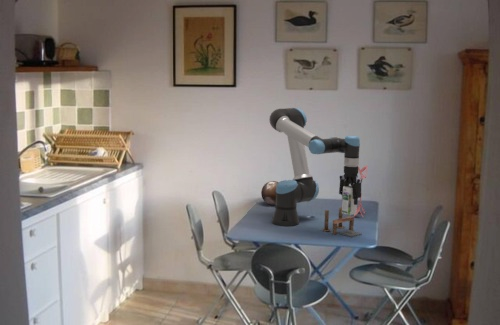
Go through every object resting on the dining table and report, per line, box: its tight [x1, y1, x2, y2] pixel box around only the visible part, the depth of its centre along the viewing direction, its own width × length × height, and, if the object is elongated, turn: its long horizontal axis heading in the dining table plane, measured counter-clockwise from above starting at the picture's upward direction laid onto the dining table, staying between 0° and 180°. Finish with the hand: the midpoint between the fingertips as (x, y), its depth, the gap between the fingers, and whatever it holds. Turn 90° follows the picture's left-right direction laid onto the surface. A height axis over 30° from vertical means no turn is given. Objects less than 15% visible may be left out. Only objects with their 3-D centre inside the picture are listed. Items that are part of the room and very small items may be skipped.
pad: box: [339, 229, 362, 238], centre depth 313 cm, size 8×8×1 cm
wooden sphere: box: [261, 180, 279, 206], centre depth 377 cm, size 15×15×15 cm
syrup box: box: [341, 185, 358, 216], centre depth 312 cm, size 6×6×14 cm
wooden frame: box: [321, 206, 355, 235], centre depth 320 cm, size 10×15×11 cm, turn 129°
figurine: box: [344, 165, 368, 218], centre depth 354 cm, size 15×26×35 cm, turn 163°
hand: (349, 209), depth 313 cm, fingers closed on syrup box, 6 cm apart
